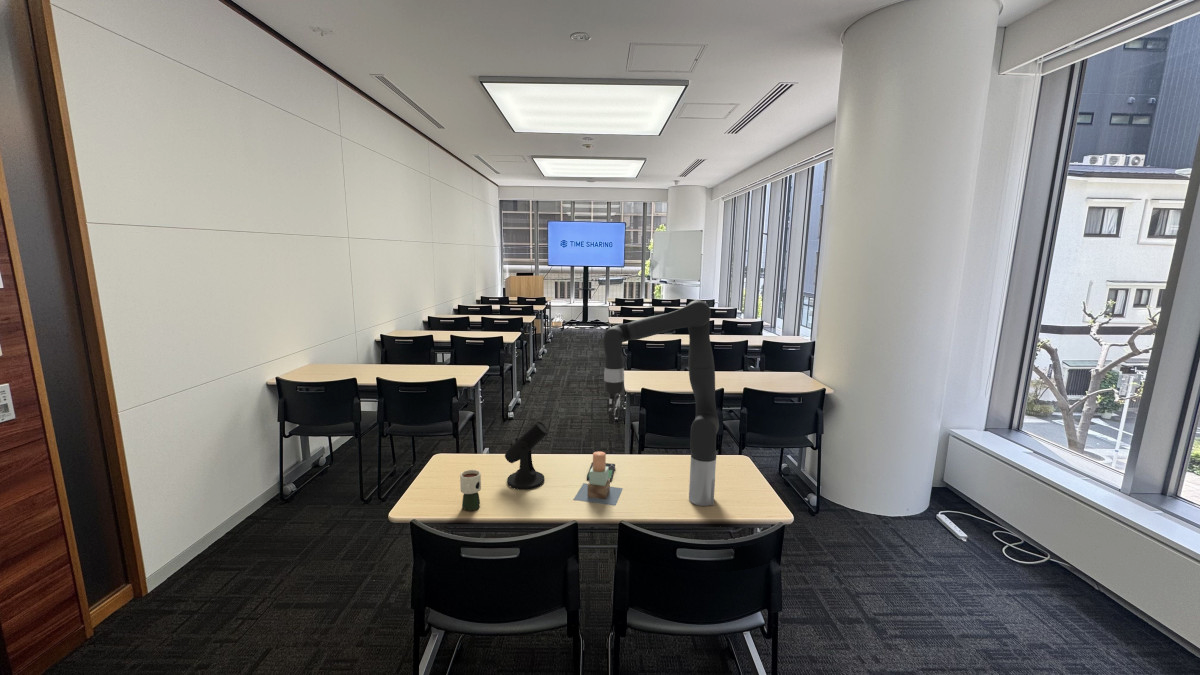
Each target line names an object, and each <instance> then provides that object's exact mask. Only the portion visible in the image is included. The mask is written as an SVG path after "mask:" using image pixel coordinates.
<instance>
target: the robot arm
mask: <svg viewBox="0 0 1200 675" xmlns="http://www.w3.org/2000/svg"><path fill="white" fill-rule="evenodd" d="M711 312H712V311H711V308H710V306H709V304H708V303H707V302H706V301H704V300H702V299H695V300H692V301H689V303H687V305H685V306H683V307H681V308H678V309H677V310H674V311H671V312H668V313H663V314H657V315H651V316H647V317H643V318H640V319H637V320H632V321H630V322H627V323H621V324H616V325H613V326H611V327H609V328H608V329H607V330H606V331H605V332H604V334H603V348H604V357H605V358H604V372H603V374H604V375H603V376H604V377H603V379H604V381H603V382H604V383H603V385H604V386H603V388H604V389H603V391H604V392H605V393H606V394H607V393H608V394H609V396H608V397H607V398H606V401H607V402H606V415H607V416H608V424H609V425H615V424H616V418H619V417H620V405H621V394H622V393H623V392H624V391H625V369H624V365H625V364H624V362H625V361H624V357H625V356H624V354H623V343H624V342H629V341H637V340H642V339H646V338H649V337H652V336H657V335H659V334H662V333H666V332H669V331H673V330H674V331H675V330H678V329H684V328H687V330H688V336H689V337H688V338H689V342H688V343H689V346H688V360H687V361H688V376H689V383H690V387H691V389H692V394H693V396H694V401H695V417H694V418H695V419H694V420H693V421H692V424H691V425H690V438H689V440H690V441H689V444H690V445H689V447H690V448H689V449H690V467H689V468H690V470H689V485H688V486H689V487H688V500H689V502H690V503H691V504H693V505H696V506H700V507H708V506H714V503H715V486H716V470H717V469H716V464H717V453H718V452H717V446H716V445H717V434H718V432H719V429H720V421H719V416H718V411H717V404H716V371H715V370H716V369H715V360H714V353H713V349H712V344H711V337H710V326H711V325H710V322H711V320H710V319H711V316H712V313H711Z"/></svg>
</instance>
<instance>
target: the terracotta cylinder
mask: <svg viewBox="0 0 1200 675" xmlns="http://www.w3.org/2000/svg"><path fill="white" fill-rule="evenodd" d="M606 459H607V458H606V452H604V451H594V452H593V453H592V462H593V470H594V471H596V472H602V471H605V465H606V463H607V461H606Z"/></svg>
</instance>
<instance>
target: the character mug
mask: <svg viewBox="0 0 1200 675" xmlns="http://www.w3.org/2000/svg"><path fill="white" fill-rule="evenodd" d="M481 474H482V473H481V471H480V470H477V469H467V470H464V471H461V472H460V474H459V479H460V480H459V482H460V493H462V494H463V495H462V502H461V503H462V504H461V508H462V509H463V510H468V511H475V510H477V509H479V508H480V506H481V500H480V495H479V492H480V491H481V490H482V479H481V478H482V477H481V476H482V475H481Z"/></svg>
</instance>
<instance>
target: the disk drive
mask: <svg viewBox="0 0 1200 675" xmlns="http://www.w3.org/2000/svg"><path fill="white" fill-rule="evenodd" d="M605 466H607V467H609V476H608V478H609V479H610V483H611V482H612V481H613V476H614V473H615V471H616V463H611V462H610V463H607V462H606V465H605ZM592 467H593V461H592V462H591V463H590V466H589V470H588V472H587V474H586V481H589V471H590V470H591V468H592Z"/></svg>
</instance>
